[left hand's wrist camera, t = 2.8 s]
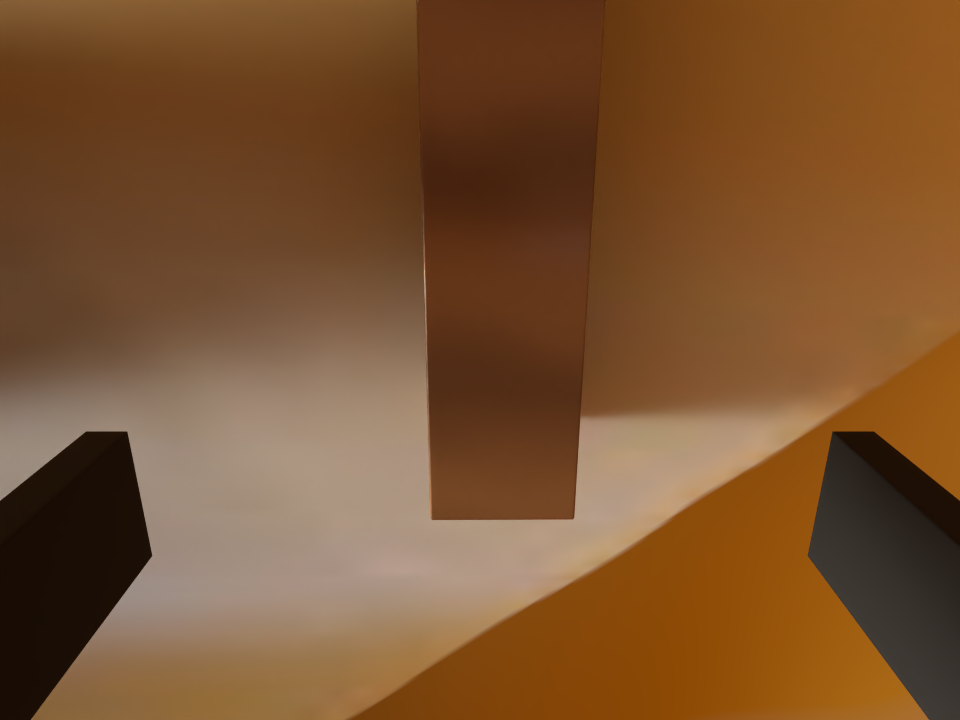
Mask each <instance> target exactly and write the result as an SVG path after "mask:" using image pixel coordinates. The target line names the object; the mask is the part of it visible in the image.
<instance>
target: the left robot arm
mask: <svg viewBox="0 0 960 720" xmlns="http://www.w3.org/2000/svg"><path fill="white" fill-rule="evenodd" d="M151 557H152V552H151V547H150V542H149V537H148V532H147V527H146V522H145V517H144V512H143V507H142V502H141V497H140V492H139V487H138V482H137V477H136V472H135V467H134V462H133V457H132V452H131V447H130V443H129V438H128V433H127V432H85V433H84V434H83V435H81V436H80V437H79V438H78V439H76V440H75V441H74V442H73V443H71V444H70V445H69V446H68V447H66V448H65V449H64V450H63V451H61V452H60V453H59V454H58V455H57V456H55V457H54V458H53V459H52V460H50V461H49V462H48V463H47V464H45V465H44V466H43V467H42V468H40V469H39V470H38V471H37V472H35V473H34V474H33V475H32V476H31V477H29V478H28V479H27V480H26V481H24V482H23V483H22V484H21V485H19V486H18V487H17V488H16V489H14V490H13V491H12V492H11V493H9V494H8V495H7V496H6V497H5V498H3V499H2V500H1V501H0V720H31V719H32V717H33V716H34V715H35V713H36V712H37V711H38V709H39V708H40V707H41V705H42V704H43V702H44V701H45V700H46V698H47V697H48V696H49V694H50V693H51V692H52V690H53V689H54V688H55V686H56V685H57V684H58V682H59V681H60V680H61V678H62V677H63V676H64V674H65V673H66V671H67V670H68V669H69V667H70V666H71V665H72V663H73V662H74V661H75V659H76V658H77V657H78V655H79V654H80V653H81V651H82V650H83V649H84V647H85V646H86V644H87V643H88V642H89V640H90V639H91V638H92V636H93V635H94V634H95V632H96V631H97V630H98V628H99V627H100V626H101V624H102V623H103V622H104V620H105V619H106V617H107V616H108V615H109V613H110V612H111V611H112V609H113V608H114V607H115V605H116V604H117V603H118V601H119V600H120V599H121V597H122V596H123V595H124V593H125V592H126V591H127V589H128V588H129V586H130V585H131V584H132V582H133V581H134V580H135V578H136V577H137V576H138V574H139V573H140V572H141V570H142V569H143V568H144V566H145V565H146V564H147V562H148V561H149V559H150V558H151ZM808 557H809V558H810V559H811V561H812V562H813V563H814V565H815V566H816V568H817V569H818V570H819V572H820V573H821V574H822V576H823V577H824V578H825V580H826V581H827V582H828V584H829V585H830V586H831V588H832V589H833V590H834V592H835V593H836V595H837V596H838V597H839V599H840V600H841V601H842V603H843V604H844V605H845V607H846V608H847V609H848V611H849V612H850V613H851V615H852V616H853V617H854V619H855V620H856V622H857V623H858V624H859V625H860V627H861V628H862V630H863V631H864V632H865V634H866V635H867V636H868V638H869V639H870V640H871V642H872V643H873V644H874V646H875V647H876V648H877V650H878V651H879V653H880V654H881V655H882V656H883V658H884V659H885V661H886V662H887V663H888V665H889V666H890V667H891V669H892V670H893V671H894V673H895V674H896V676H897V677H898V678H899V680H900V681H901V682H902V684H903V685H904V686H905V688H906V689H907V690H908V692H909V693H910V694H911V696H912V697H913V698H914V700H915V701H916V702H917V704H918V705H919V707H920V708H921V709H922V711H923V712H924V713H925V715H926V716H927V717H928V719H929V720H960V501H959V500H958V499H957V498H955V497H954V496H953V495H952V494H951V493H949V492H948V491H947V490H946V489H944V488H943V487H942V486H941V485H939V484H938V483H937V482H936V481H934V480H933V479H932V478H931V477H929V476H928V475H927V474H926V473H925V472H923V471H922V470H921V469H920V468H918V467H917V466H916V465H915V464H913V463H912V462H911V461H910V460H908V459H907V458H906V457H905V456H903V455H902V454H901V453H900V452H899V451H897V450H896V449H895V448H894V447H892V446H891V445H890V444H889V443H887V442H886V441H885V440H884V439H882V438H881V437H880V436H879V435H877V434H876V433H875V432H833V433H832V438H831V443H830V447H829V453H828V457H827V462H826V467H825V473H824V477H823V482H822V487H821V492H820V498H819V502H818V507H817V512H816V517H815V522H814V527H813V532H812V537H811V542H810V547H809V552H808Z"/></svg>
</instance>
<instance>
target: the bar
mask: <svg viewBox="0 0 960 720" xmlns="http://www.w3.org/2000/svg"><path fill="white" fill-rule="evenodd" d="M416 4H417V41H418V78H419V114H420V151H421V188H422V225H423V261H424V298H425V335H426V372H427V408H428V445H429V482H430V518H431V519H432V520H531V519H574V513H575V496H576V479H577V463H578V446H579V429H580V413H581V396H582V380H583V363H584V346H585V330H586V313H587V296H588V280H589V263H590V246H591V230H592V213H593V197H594V180H595V163H596V147H597V130H598V113H599V97H600V80H601V63H602V47H603V30H604V14H605V0H416Z"/></svg>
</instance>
